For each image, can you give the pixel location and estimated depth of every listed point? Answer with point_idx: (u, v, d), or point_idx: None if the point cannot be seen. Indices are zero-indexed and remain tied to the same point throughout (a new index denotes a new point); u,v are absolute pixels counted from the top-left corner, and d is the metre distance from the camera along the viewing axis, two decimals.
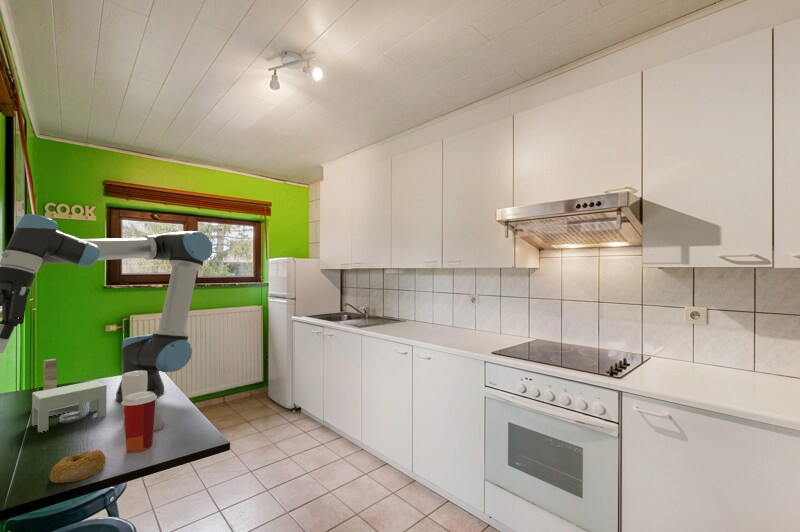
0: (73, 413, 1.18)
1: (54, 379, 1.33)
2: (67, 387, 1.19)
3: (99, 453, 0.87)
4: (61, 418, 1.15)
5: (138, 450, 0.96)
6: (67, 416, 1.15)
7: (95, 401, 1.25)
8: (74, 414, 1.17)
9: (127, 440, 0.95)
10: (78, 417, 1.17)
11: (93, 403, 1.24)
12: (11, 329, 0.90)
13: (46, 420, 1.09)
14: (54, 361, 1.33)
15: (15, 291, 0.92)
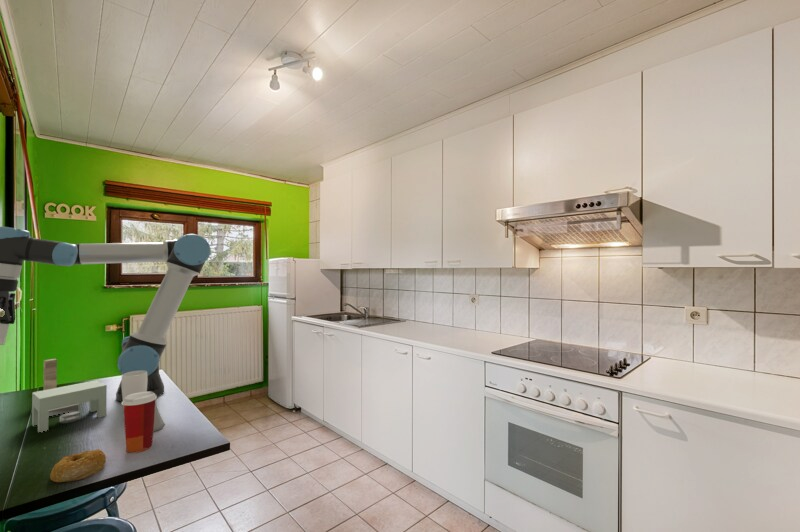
0: (73, 413, 1.18)
1: (54, 379, 1.33)
2: (67, 387, 1.19)
3: (99, 452, 0.87)
4: (61, 418, 1.15)
5: (138, 450, 0.96)
6: (67, 416, 1.15)
7: (95, 401, 1.25)
8: (74, 414, 1.17)
9: (127, 440, 0.95)
10: (78, 417, 1.17)
11: (93, 403, 1.24)
12: None
13: (46, 420, 1.09)
14: (54, 361, 1.33)
15: None
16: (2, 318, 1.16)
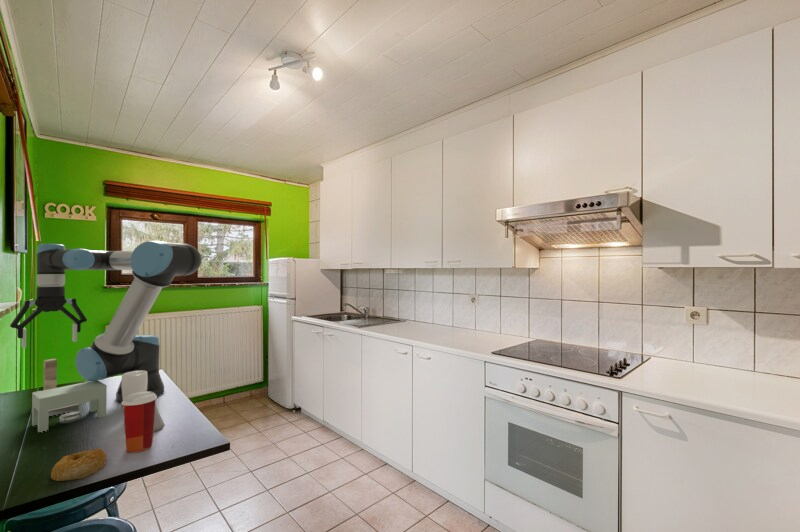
0: (73, 413, 1.18)
1: (54, 379, 1.33)
2: (67, 387, 1.19)
3: (100, 451, 0.88)
4: (61, 418, 1.15)
5: (138, 450, 0.96)
6: (67, 416, 1.16)
7: (95, 401, 1.25)
8: (74, 414, 1.17)
9: (127, 440, 0.95)
10: (78, 417, 1.17)
11: (93, 403, 1.24)
12: (18, 331, 1.27)
13: (46, 420, 1.09)
14: (54, 361, 1.33)
15: None
16: (72, 319, 1.39)
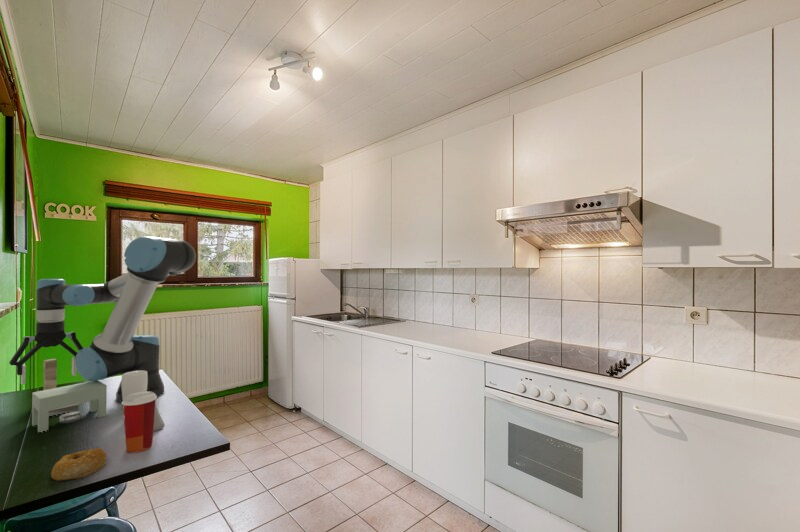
0: (73, 413, 1.18)
1: (54, 379, 1.33)
2: (67, 387, 1.19)
3: (100, 451, 0.88)
4: (61, 418, 1.15)
5: (138, 450, 0.96)
6: (67, 416, 1.15)
7: (95, 401, 1.25)
8: (74, 414, 1.17)
9: (127, 440, 0.95)
10: (78, 417, 1.17)
11: (93, 403, 1.24)
12: (17, 368, 1.26)
13: (46, 420, 1.09)
14: (54, 361, 1.33)
15: None
16: (71, 353, 1.38)
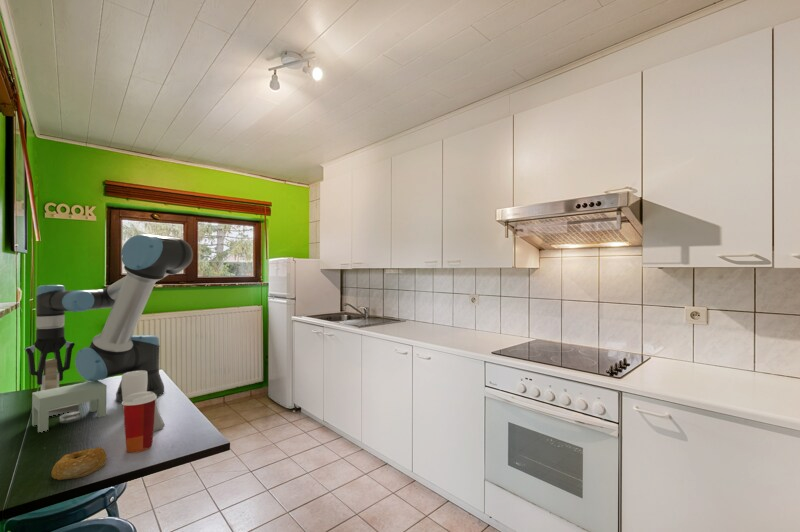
0: (73, 413, 1.18)
1: (54, 379, 1.33)
2: (67, 387, 1.19)
3: (100, 450, 0.88)
4: (61, 418, 1.15)
5: (138, 450, 0.96)
6: (67, 416, 1.16)
7: (95, 401, 1.25)
8: (74, 414, 1.17)
9: (127, 440, 0.95)
10: (78, 417, 1.17)
11: (93, 403, 1.24)
12: (37, 378, 1.30)
13: (46, 420, 1.09)
14: (54, 361, 1.33)
15: None
16: (57, 365, 1.35)
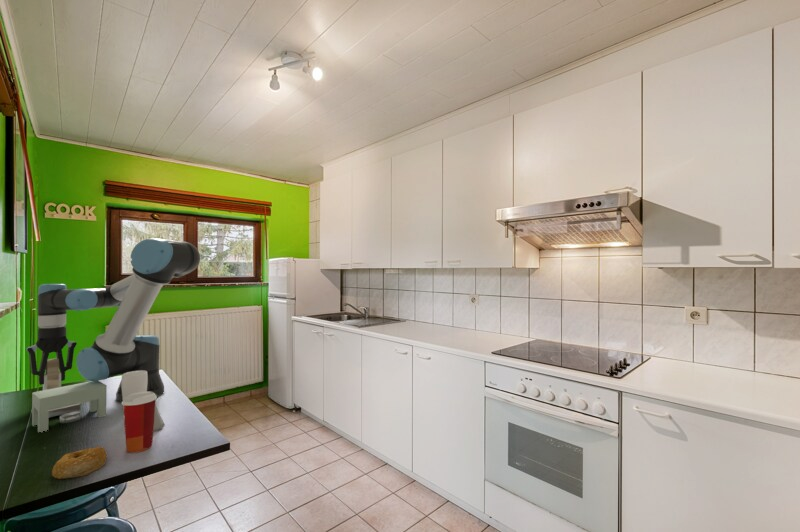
0: (73, 413, 1.18)
1: (56, 379, 1.32)
2: (67, 387, 1.19)
3: (101, 449, 0.89)
4: (61, 418, 1.15)
5: (138, 450, 0.96)
6: (67, 416, 1.16)
7: (95, 401, 1.25)
8: (74, 414, 1.17)
9: (127, 440, 0.95)
10: (78, 417, 1.17)
11: (93, 403, 1.24)
12: (39, 378, 1.29)
13: (46, 420, 1.09)
14: (56, 361, 1.32)
15: None
16: (59, 365, 1.34)
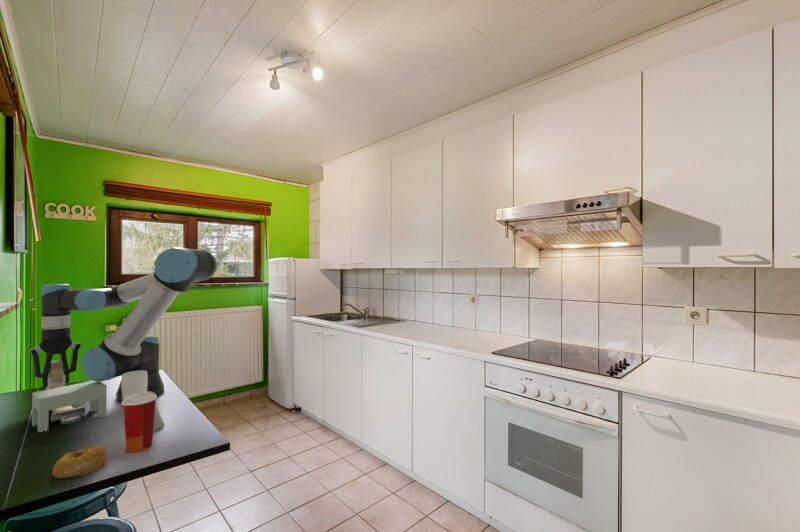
0: (74, 413, 1.17)
1: (60, 381, 1.29)
2: (67, 387, 1.19)
3: (101, 449, 0.89)
4: (62, 418, 1.14)
5: (138, 450, 0.96)
6: (68, 417, 1.15)
7: (95, 401, 1.25)
8: (75, 414, 1.16)
9: (127, 440, 0.95)
10: (79, 417, 1.17)
11: (93, 403, 1.24)
12: (42, 380, 1.26)
13: (46, 420, 1.09)
14: (60, 363, 1.29)
15: None
16: (63, 367, 1.31)
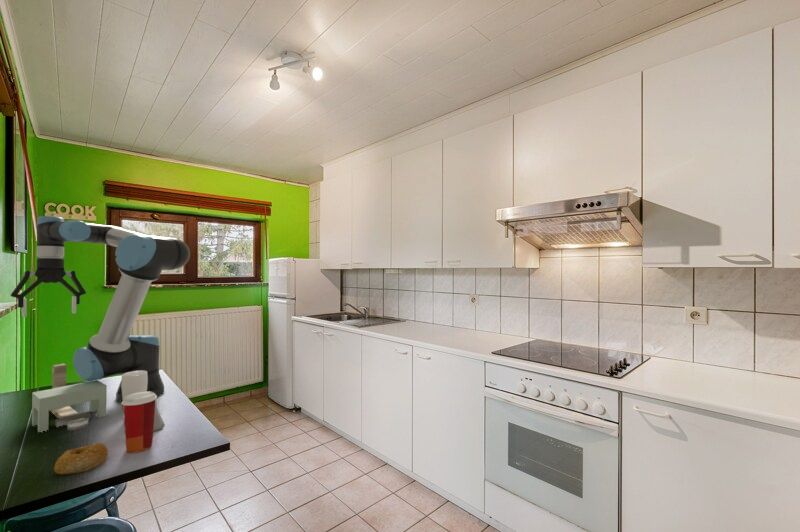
0: (81, 420, 1.13)
1: (63, 385, 1.25)
2: (67, 387, 1.19)
3: (102, 445, 0.91)
4: (68, 425, 1.09)
5: (138, 450, 0.96)
6: (75, 423, 1.10)
7: (95, 401, 1.25)
8: (82, 421, 1.12)
9: (127, 440, 0.95)
10: (86, 424, 1.12)
11: (93, 403, 1.24)
12: (18, 300, 1.30)
13: (46, 420, 1.09)
14: (64, 366, 1.26)
15: None
16: (71, 291, 1.42)
